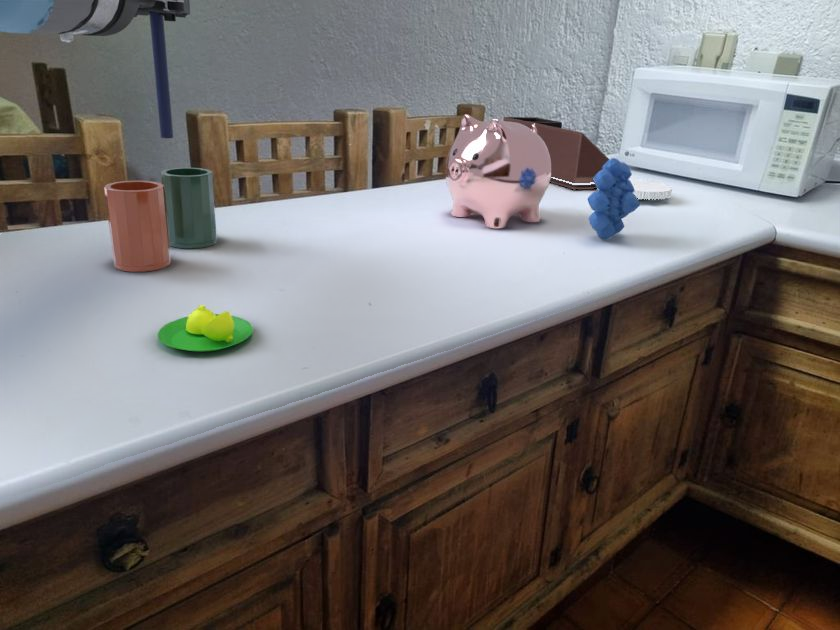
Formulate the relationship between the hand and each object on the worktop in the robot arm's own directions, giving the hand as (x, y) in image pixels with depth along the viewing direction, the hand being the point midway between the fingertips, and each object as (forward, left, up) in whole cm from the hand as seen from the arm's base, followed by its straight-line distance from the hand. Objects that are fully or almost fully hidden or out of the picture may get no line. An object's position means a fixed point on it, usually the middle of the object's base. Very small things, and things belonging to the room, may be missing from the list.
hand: (172, 4), depth 76 cm
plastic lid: (+64, +55, -28) cm, 89 cm away
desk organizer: (+49, +72, -28) cm, 91 cm away
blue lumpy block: (+56, +19, -28) cm, 66 cm away
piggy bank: (+38, +26, -28) cm, 54 cm away
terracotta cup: (0, -12, -28) cm, 30 cm away
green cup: (+1, -2, -28) cm, 28 cm away
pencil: (+1, -5, -14) cm, 15 cm away
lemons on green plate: (+16, -29, -28) cm, 43 cm away
